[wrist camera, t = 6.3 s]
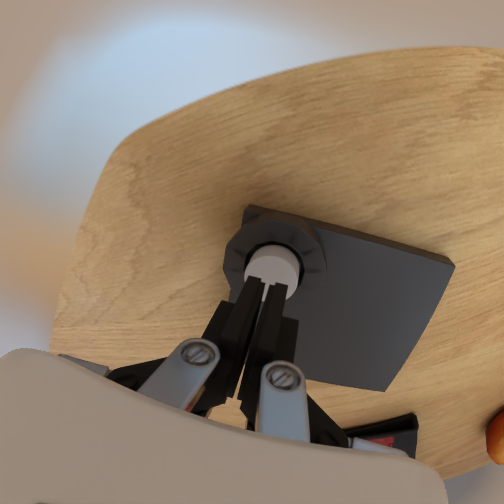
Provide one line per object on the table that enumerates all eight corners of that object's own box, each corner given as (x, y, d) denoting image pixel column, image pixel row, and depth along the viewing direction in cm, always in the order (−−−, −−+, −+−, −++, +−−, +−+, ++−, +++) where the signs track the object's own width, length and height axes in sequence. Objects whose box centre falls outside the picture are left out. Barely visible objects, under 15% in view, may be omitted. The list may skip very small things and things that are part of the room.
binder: (419, 429, 20) (412, 489, 26) (416, 411, 22) (411, 477, 29) (266, 448, 26) (311, 501, 32) (271, 432, 28) (313, 489, 34)
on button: (246, 282, 17) (240, 295, 16) (254, 238, 16) (248, 249, 15) (292, 293, 17) (290, 308, 15) (304, 251, 16) (303, 262, 14)
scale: (220, 345, 23) (209, 370, 20) (244, 197, 18) (231, 209, 15) (382, 380, 22) (386, 406, 19) (450, 252, 16) (468, 272, 14)
